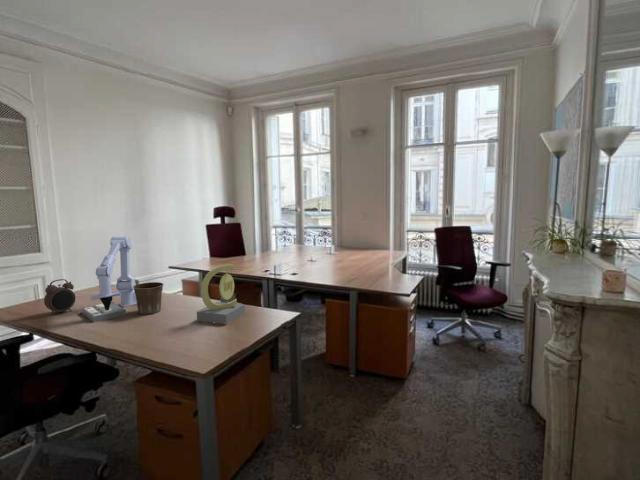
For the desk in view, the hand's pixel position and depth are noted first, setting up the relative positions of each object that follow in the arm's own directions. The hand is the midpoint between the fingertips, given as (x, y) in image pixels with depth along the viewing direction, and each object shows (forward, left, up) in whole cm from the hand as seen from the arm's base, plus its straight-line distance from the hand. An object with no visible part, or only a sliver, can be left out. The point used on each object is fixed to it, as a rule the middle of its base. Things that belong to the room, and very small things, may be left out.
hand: (107, 310), depth 196 cm
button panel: (0, -7, -4) cm, 8 cm away
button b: (0, -7, -2) cm, 7 cm away
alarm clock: (+16, -29, -4) cm, 33 cm away
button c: (0, 0, -3) cm, 3 cm away
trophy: (-43, +51, -4) cm, 66 cm away
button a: (0, -14, -3) cm, 14 cm away
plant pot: (-20, +9, -4) cm, 22 cm away
